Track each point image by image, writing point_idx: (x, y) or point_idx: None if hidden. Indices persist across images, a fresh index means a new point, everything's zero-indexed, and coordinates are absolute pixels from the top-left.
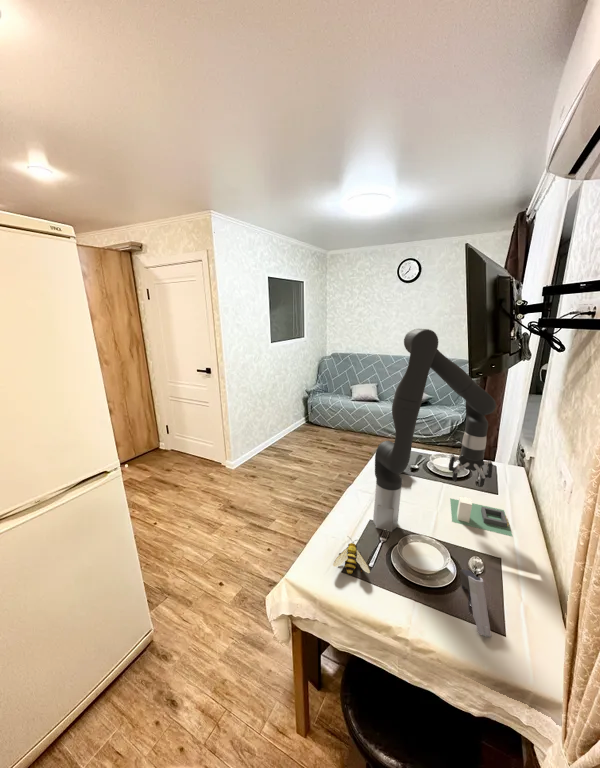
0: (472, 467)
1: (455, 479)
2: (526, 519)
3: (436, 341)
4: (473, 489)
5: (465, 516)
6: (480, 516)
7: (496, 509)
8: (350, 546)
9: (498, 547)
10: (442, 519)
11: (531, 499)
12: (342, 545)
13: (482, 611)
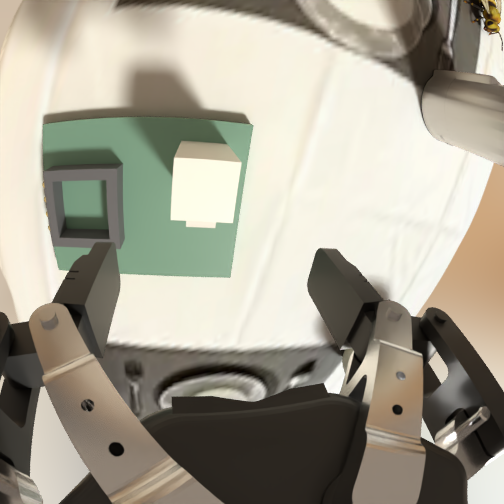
0: (232, 456)
1: (340, 259)
2: (14, 252)
3: None
4: (146, 346)
5: (199, 145)
6: (129, 200)
7: None
8: (500, 18)
9: (102, 53)
10: (280, 146)
11: None
12: (491, 47)
13: None
